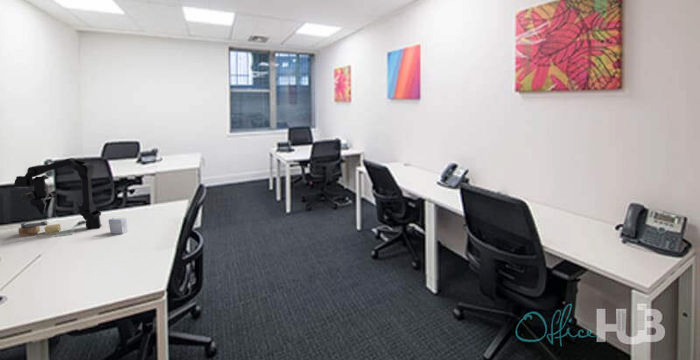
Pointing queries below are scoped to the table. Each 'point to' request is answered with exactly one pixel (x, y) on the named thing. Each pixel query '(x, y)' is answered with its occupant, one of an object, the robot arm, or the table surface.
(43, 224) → the lever
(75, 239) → the table surface
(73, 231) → the glass plate
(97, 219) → the robot arm
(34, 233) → the plane block
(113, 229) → the medicine box
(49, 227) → the brass block
